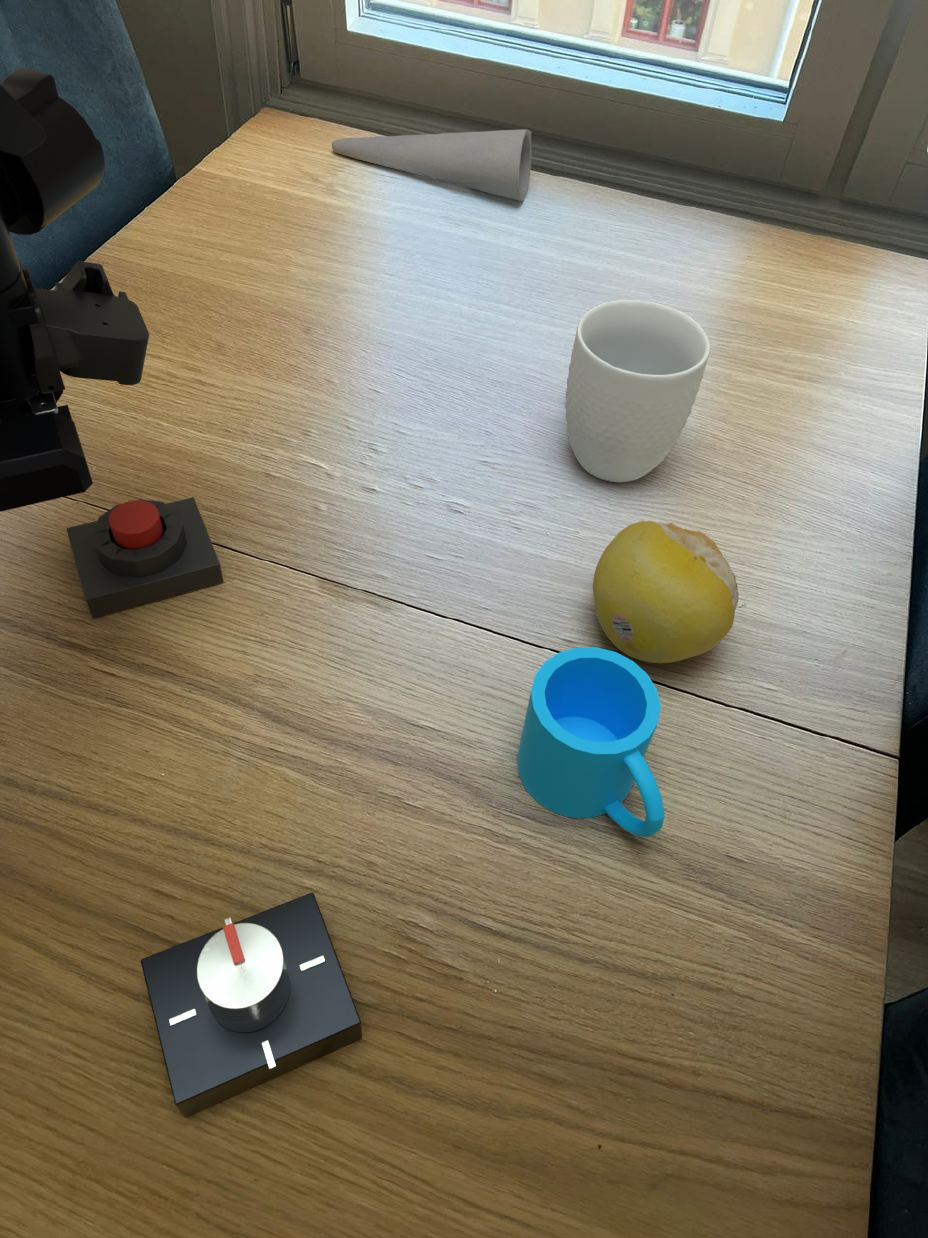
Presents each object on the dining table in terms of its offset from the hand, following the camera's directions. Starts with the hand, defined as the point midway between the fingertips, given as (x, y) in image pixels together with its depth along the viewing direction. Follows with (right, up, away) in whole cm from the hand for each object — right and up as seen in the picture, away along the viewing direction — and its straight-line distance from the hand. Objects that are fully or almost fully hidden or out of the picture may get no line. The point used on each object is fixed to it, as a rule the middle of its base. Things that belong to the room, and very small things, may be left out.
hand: (46, 493), depth 61 cm
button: (+3, -2, +10) cm, 10 cm away
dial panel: (+16, -30, -8) cm, 35 cm away
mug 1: (+41, +7, +25) cm, 49 cm away
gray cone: (+22, +47, +56) cm, 77 cm away
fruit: (+42, -10, +11) cm, 45 cm away
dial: (+16, -28, -11) cm, 34 cm away
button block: (+3, -4, +12) cm, 13 cm away
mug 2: (+36, -20, +2) cm, 41 cm away
